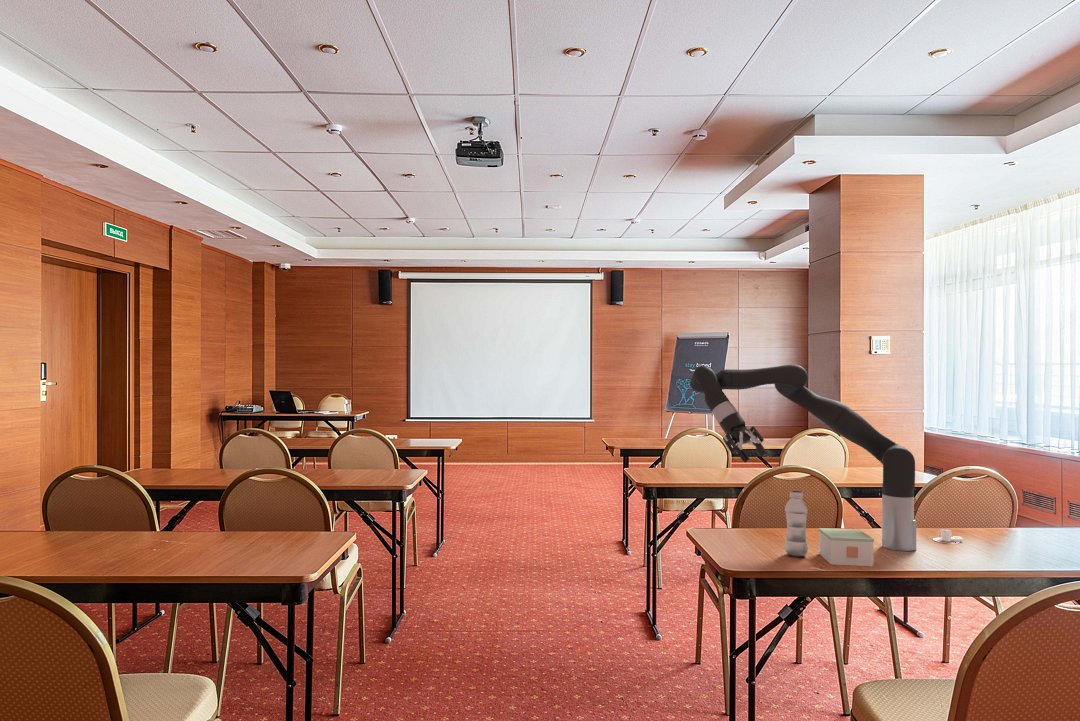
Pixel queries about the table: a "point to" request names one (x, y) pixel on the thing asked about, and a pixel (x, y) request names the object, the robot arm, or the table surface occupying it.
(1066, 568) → the table surface
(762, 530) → the table surface
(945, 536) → the teacup and saucer
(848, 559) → the raised stand
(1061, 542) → the table surface
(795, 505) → the plastic bottle
